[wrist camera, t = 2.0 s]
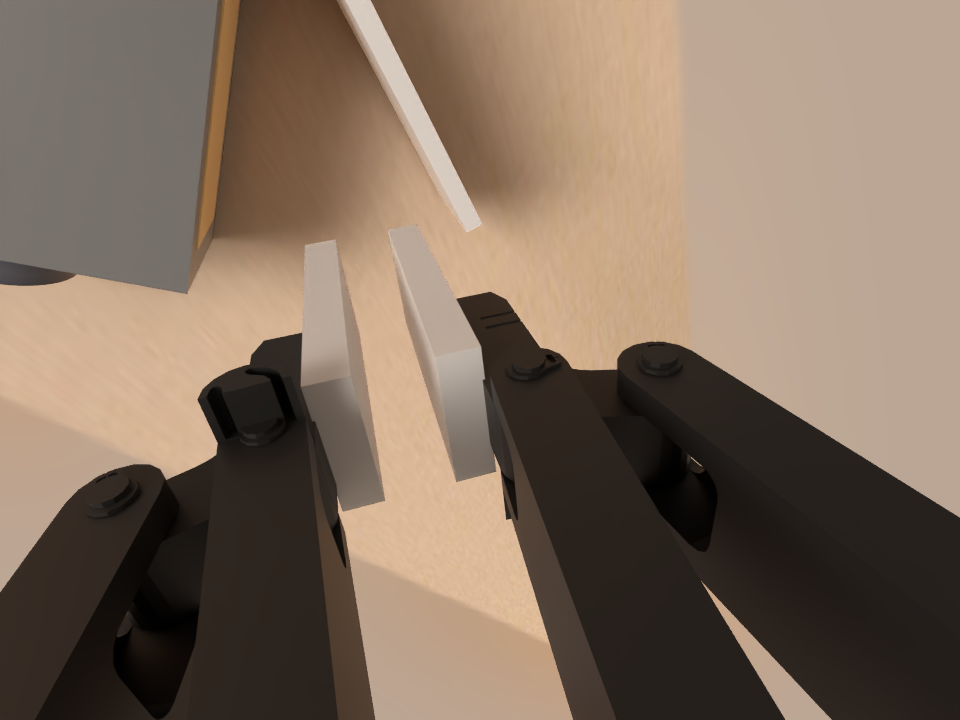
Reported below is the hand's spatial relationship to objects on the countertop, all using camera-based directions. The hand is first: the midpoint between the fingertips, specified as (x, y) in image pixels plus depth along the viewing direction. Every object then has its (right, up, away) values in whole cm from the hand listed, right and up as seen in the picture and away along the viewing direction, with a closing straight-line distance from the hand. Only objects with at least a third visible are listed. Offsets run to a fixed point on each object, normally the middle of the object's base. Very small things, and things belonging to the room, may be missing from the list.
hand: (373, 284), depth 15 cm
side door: (-2, +12, +11) cm, 17 cm away
